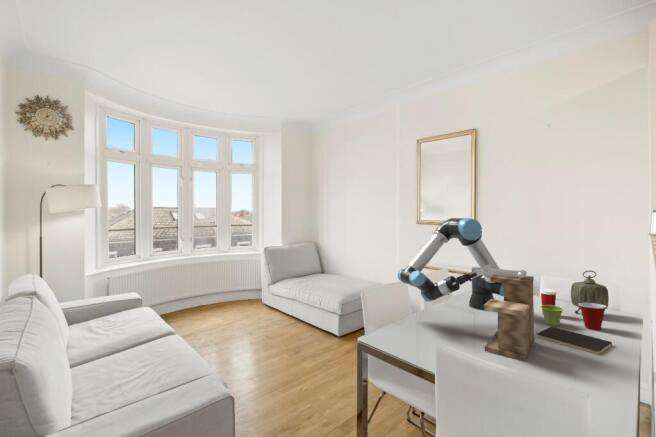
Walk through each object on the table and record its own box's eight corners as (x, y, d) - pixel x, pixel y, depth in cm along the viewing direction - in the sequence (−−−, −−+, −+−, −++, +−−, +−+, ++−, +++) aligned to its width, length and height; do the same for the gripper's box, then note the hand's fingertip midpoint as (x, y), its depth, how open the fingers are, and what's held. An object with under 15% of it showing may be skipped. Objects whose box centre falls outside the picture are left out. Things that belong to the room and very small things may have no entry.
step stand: (484, 350, 133) (483, 281, 132) (497, 334, 150) (496, 272, 150) (525, 361, 123) (524, 286, 122) (534, 341, 140) (533, 276, 140)
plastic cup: (593, 323, 160) (592, 300, 160) (613, 331, 149) (612, 307, 149) (572, 324, 159) (572, 301, 159) (591, 332, 149) (591, 308, 148)
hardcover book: (598, 356, 126) (598, 351, 126) (536, 338, 146) (536, 333, 146) (612, 346, 135) (612, 341, 135) (551, 330, 154) (551, 325, 154)
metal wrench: (470, 274, 147) (470, 268, 147) (474, 271, 154) (474, 266, 153) (524, 279, 134) (524, 273, 134) (526, 276, 140) (526, 270, 140)
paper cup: (551, 312, 178) (551, 288, 178) (560, 317, 170) (559, 292, 170) (537, 312, 179) (536, 288, 178) (545, 317, 171) (544, 292, 171)
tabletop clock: (598, 312, 176) (597, 269, 175) (611, 318, 167) (610, 272, 166) (570, 312, 177) (570, 269, 177) (582, 317, 168) (581, 272, 168)
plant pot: (567, 327, 155) (567, 310, 155) (546, 327, 157) (546, 310, 157) (557, 321, 164) (557, 305, 164) (537, 320, 166) (537, 304, 166)
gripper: (461, 287, 167) (498, 271, 155) (443, 297, 149) (484, 280, 136) (453, 274, 170) (489, 257, 157) (435, 283, 151) (475, 265, 139)
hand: (487, 268), depth 147 cm, fingers open, 13 cm apart
